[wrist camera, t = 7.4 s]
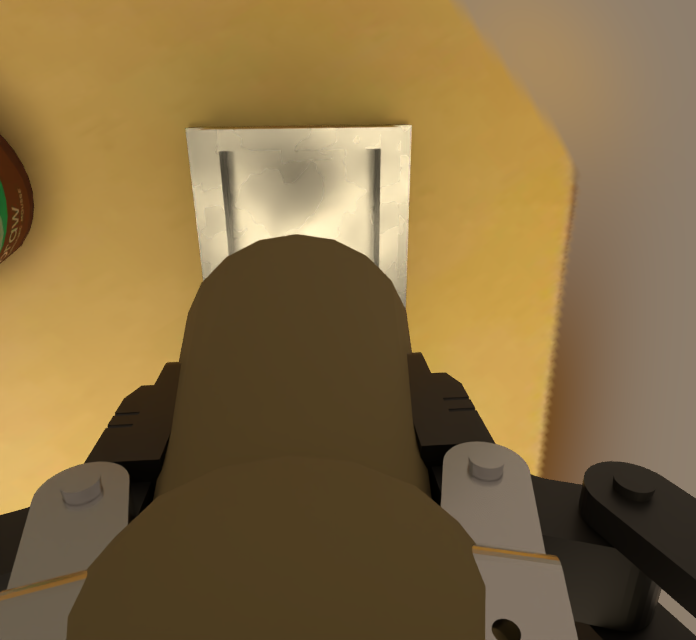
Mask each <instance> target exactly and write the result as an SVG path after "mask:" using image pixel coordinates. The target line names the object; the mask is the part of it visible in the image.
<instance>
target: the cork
mask: <svg viewBox="0 0 696 640" xmlns="http://www.w3.org/2000/svg"><path fill="white" fill-rule="evenodd" d="M407 353H412V350H411V343H410V336H409V328H408V321H407V314H406V309H405V307H404V305H403V303H402V301H401V299H400V297H399V295H398V293H397V291H396V289H395V287H394V285H393V282H392V280H391V279H390V278H389V277H388V276H387V275H386V274H385V273H384V272H383V271H382V270H381V269H380V268H379V267H378V266H377V265H376V264H375V263H374V262H373V261H372V260H371V259H369V258H368V257H367V256H366V255H364V254H362V253H360V252H358V251H356V250H354V249H352V248H350V247H348V246H346V245H344V244H342V243H340V242H338V241H336V240H334V239H327V238H320V237H314V236H307V235H300V234H293V235H287V236H281V237H275V238H269V239H262V240H258V241H256V242H254V243H253V244H251V245H249V246H247V247H245V248H243V249H241V250H239V251H237V252H235V253H233V254H231V255H229V256H227V257H226V258H225V259H224V260H223V261H222V262H221V263H220V264H219V265H218V266H217V267H216V268H215V269H214V270H213V271H212V273H211V274H210V275H209V276H208V277H207V278H206V279H205V280H204V281H203V282H202V283H201V286H200V288H199V290H198V292H197V294H196V297H195V299H194V301H193V303H192V306H191V308H190V310H189V312H188V316H187V321H186V327H185V332H184V337H183V343H182V348H181V354H180V359H179V362H181V369H180V376H179V383H178V389H177V396H176V402H175V409H174V416H173V422H172V429H171V434H170V438H169V442H168V446H167V450H166V454H165V458H164V462H163V466H162V470H161V472H160V474H159V477H158V479H157V482H156V487H155V493H154V498H153V502H152V503H151V504H150V505H148V506H147V507H146V508H145V509H144V510H143V511H142V512H141V513H140V514H139V515H138V516H137V517H136V518H135V519H134V520H132V521H131V522H130V523H129V524H128V525H127V526H126V527H125V528H124V529H123V530H122V531H121V532H120V533H119V534H118V535H116V536H115V537H114V539H113V540H112V541H111V542H110V543H109V544H108V545H107V547H106V548H105V549H104V550H103V551H102V552H101V554H100V555H99V556H98V557H97V558H96V559H95V560H94V562H93V563H92V564H91V565H90V566H89V567H88V569H87V577H86V580H85V582H84V584H83V586H82V588H81V590H80V592H79V595H78V597H77V599H76V601H75V603H74V605H73V607H72V609H71V611H70V613H69V615H68V621H67V636H66V640H485V601H486V586H485V583H484V581H483V579H482V576H481V574H480V571H479V569H478V566H477V564H476V561H475V559H474V556H473V552H472V546H473V544H475V545H477V544H476V543H475V542H474V541H473V539H472V538H471V537H470V536H469V534H468V533H467V532H466V531H465V529H464V528H463V527H462V526H461V524H460V523H459V522H458V521H457V520H456V519H455V518H454V517H452V516H451V515H450V514H449V513H448V512H446V511H445V510H444V509H443V508H442V507H440V506H439V505H438V504H437V503H436V502H434V501H433V500H432V496H431V489H430V482H429V474H428V469H427V467H426V466H425V464H424V462H423V460H422V458H421V456H420V451H419V447H418V442H417V438H416V433H415V429H414V424H413V418H412V406H411V395H410V384H409V372H408V361H407ZM492 633H493V635H494V637H495V638H496V639H497V640H508V639H507V638H506V637H505V635H504V634H503V633H502V632H501V631H499V630H498V629H495V628H493V629H492Z"/></svg>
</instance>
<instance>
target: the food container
mask: <svg viewBox="0 0 696 640" xmlns="http://www.w3.org/2000/svg"><path fill="white" fill-rule="evenodd" d="M33 211H34V201H33V193H32V188H31V185H30V181H29V178H28V175H27V173H26V171H25V169H24V166H23V164H22V163H21V161H20V159H19V158H18V156H17V155H16V153H15V151H14V150H13V149H12V148H11V146H10V145H9V144H8V143H7V141H6V140H5V139H4V138H3V137H2V136H1V135H0V263H1V262H3V261H4V260H5V259H6V258H8V257H9V256H10V255H11V254H12V253H13V252H15V251H16V250H17V249H18V248H19V247H20V246H21V245H22V244H23V242H24V240H25V238H26V236H27V234H28V232H29V230H30V228H31V224H32V220H33Z"/></svg>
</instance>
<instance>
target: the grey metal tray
mask: <svg viewBox="0 0 696 640" xmlns="http://www.w3.org/2000/svg"><path fill="white" fill-rule="evenodd" d="M185 129H186V138H187V146H188V155H189V163H190V172H191V180H192V189H193V198H194V206H195V215H196V223H197V232H198V240H199V249H200V257H201V266H202V275H203V281H204V280H205V279H206V278H207V277H208V276H209V275H210V274H211V273H212V271H213V270H214V269H215V268H216V267H217V266H218V265H219V264H220V263H221V262H222V261H223V260H224V259H225V258H226V257H227V256H229V255H231V254H233V253H235V252H237V251H239V250H241V249H243V248H245V247H247V246H249V245H251V244H253V243H254V242H256V241H258V240H262V239H269V238H275V237H281V236H287V235H293V234H300V235H307V236H314V237H320V238H327V239H334V240H336V241H338V242H340V243H342V244H344V245H346V246H348V247H350V248H352V249H354V250H356V251H358V252H360V253H362V254H364V255H366V256H367V257H368V258H369V259H371V260H372V261H373V262H374V263H375V264H376V265H377V266H378V267H379V268H380V269H381V270H382V271H383V272H384V273H385V274H386V275H387V276H388V277H389V278H390V279H391V280H392V282H393V285H394V287H395V289H396V291H397V293H398V295H399V297H400V299H401V301H402V303H403V305H404V307H405V309H406V283H407V253H408V223H409V193H410V162H411V132H412V125H341V126H263V127H189V128H185Z"/></svg>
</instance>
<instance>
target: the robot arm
mask: <svg viewBox="0 0 696 640" xmlns="http://www.w3.org/2000/svg"><path fill="white" fill-rule="evenodd" d="M407 361H408V372H409V384H410V395H411V406H412V418H413V424H414V429H415V433H416V438H417V442H418V447H419V451H420V456H421V458H422V460H423V462H424V464H425V466H426V467H427V469H428V474H429V482H430V489H431V496H432V500H433V501H434V502H436V503H437V504H438V505H439V506H440V507H442V508H443V509H444V510H445V511H446V512H448V513H449V514H450V515H451V516H452V517H454V518H455V519H456V520H457V521H458V522H459V523H460V524H461V526H462V527H463V528H464V529H465V531H466V532H467V533H468V534H469V536H470V537H471V538H472V539H473V541H474V542H475V543H476V544H477V545H475V544H473V546H472V552H473V556H474V559H475V561H476V564H477V566H478V569H479V571H480V574H481V576H482V579H483V581H484V583H485V586H486V601H485V640H497V639H496V638H495V637H494V635H493V633H492V629H493V628H495V629H498V630H499V631H501V632H502V633H503V634H504V635H505V637H506V638H507V639H508V640H696V636H695V635H694V634H693V633H692V632H691V631H690V630H689V629H687V628H686V627H685V626H684V625H683V624H682V623H681V622H679V621H678V620H677V619H676V618H675V617H674V616H673V615H672V614H671V613H670V612H668V611H667V610H666V609H665V608H664V607H663V606H662V605H661V604H660V603H658V599H659V596H660V592H661V589H663V590H664V591H665V592H666V593H667V594H669V595H670V596H671V597H672V598H673V599H674V600H675V601H677V602H678V603H679V604H680V605H681V606H682V607H684V608H685V609H686V610H687V611H688V612H689V613H690V614H692V615H693V616H694V617H695V618H696V498H694V497H693V496H691V495H690V494H688V493H686V492H685V491H684V490H682V489H681V488H679V487H678V486H676V485H675V484H673V483H671V482H670V481H668V480H667V479H665V478H664V477H662V476H660V475H659V474H657V473H655V472H653V471H651V470H649V469H646V468H644V467H641V466H638V465H634V464H630V463H625V462H612V461H610V462H601V463H597V464H595V465H593V466H591V467H590V468H588V469H587V471H586V472H585V475H584V479H583V484H582V485H580V484H574V483H568V482H561V481H555V480H549V479H544V478H540V477H537V476H534V475H531V474H530V470H529V467H528V465H527V464H526V462H525V461H524V460H523V459H522V458H521V457H520V456H519V455H518V454H517V453H515V452H513V451H512V450H510V449H508V448H506V447H503V446H500V445H497V444H495V442H494V440H493V439H492V437H491V435H490V433H489V432H488V430H487V428H486V426H485V424H484V423H483V421H482V419H481V417H480V416H479V414H478V412H477V410H475V407H474V405H473V403H472V402H471V400H470V399H469V396H468V395H467V393H466V391H465V389H464V387H463V386H462V384H461V383H460V382H458V381H457V380H455V379H454V378H453V377H451V376H450V375H448V374H447V373H431V372H430V370H429V368H428V366H427V363H426V361H425V359H424V357H423V355H422V353H421V352H417V353H407ZM180 369H181V362H169V363H166V364H165V366H164V368H163V370H162V372H161V373H160V375H159V377H158V379H157V381H156V383H155V385H147V386H141V387H139V388H138V389H137V390H135V391H134V392H132V393H131V394H130V395H128V396H127V397H126V398H124V399H123V401H122V403H121V404H120V406H119V408H118V409H117V411H116V412H115V416H113V417H112V419H111V421H110V422H109V424H108V428H106V429H105V430H104V432H103V433H102V435H101V437H100V438H99V440H98V442H97V443H96V445H95V446H94V448H93V450H92V451H91V453H90V455H89V456H88V458H87V459H86V461H85V463H84V464H81V465H77V466H74V467H71V468H69V469H66V470H64V471H62V472H60V473H58V474H56V475H55V476H53V477H51V478H50V479H48V480H47V481H46V482H45V483H44V484H42V486H41V487H40V488H39V489H38V490H37V491H36V493H35V494H34V496H33V499H32V502H31V505H30V507H28V508H25V509H21V510H18V511H14V512H11V513H7V514H3V515H0V640H66V636H67V621H68V615H69V613H70V611H71V609H72V607H73V605H74V603H75V601H76V599H77V597H78V595H79V592H80V590H81V588H82V586H83V584H84V582H85V580H86V577H87V569H88V567H89V566H90V565H91V564H92V563H93V562H94V560H95V559H96V558H97V557H98V556H99V555H100V554H101V552H102V551H103V550H104V549H105V548H106V547H107V545H108V544H109V543H110V542H111V541H112V540H113V539H114V537H115V536H116V535H118V534H119V533H120V532H121V531H122V530H123V529H124V528H125V527H126V526H127V525H128V524H129V523H130V522H131V521H132V520H134V519H135V518H136V517H137V516H138V515H139V514H140V513H141V512H142V511H143V510H144V509H145V508H146V507H147V506H148V505H150V504H151V503H152V502H153V498H154V493H155V487H156V482H157V479H158V477H159V474H160V472H161V470H162V466H163V462H164V458H165V454H166V450H167V446H168V442H169V438H170V434H171V429H172V422H173V416H174V409H175V402H176V396H177V389H178V383H179V376H180Z"/></svg>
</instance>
